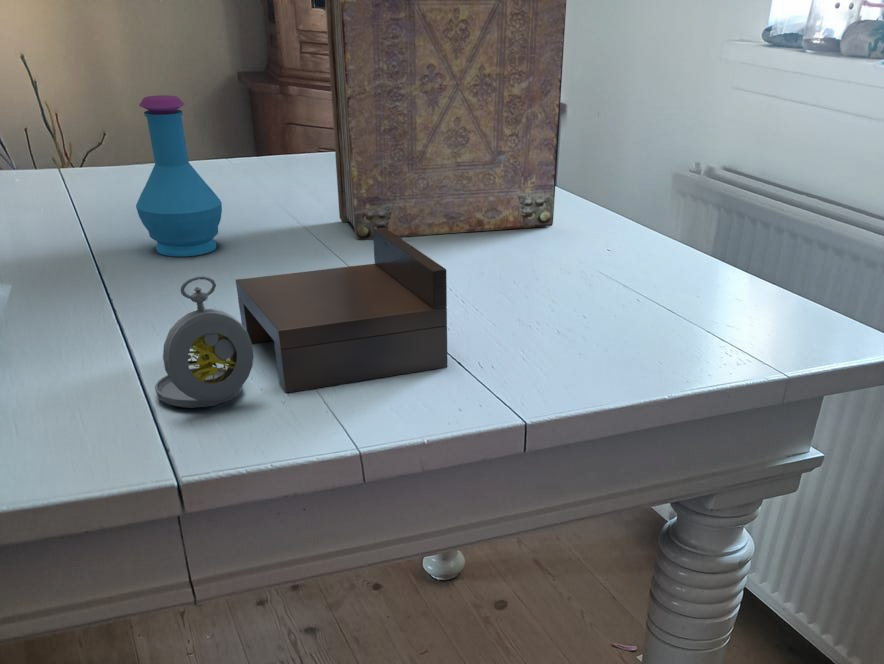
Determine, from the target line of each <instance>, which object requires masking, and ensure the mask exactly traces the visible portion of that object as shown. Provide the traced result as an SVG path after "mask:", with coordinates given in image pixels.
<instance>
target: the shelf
mask: <svg viewBox="0 0 884 664" xmlns="http://www.w3.org/2000/svg"><path fill="white" fill-rule="evenodd" d="M372 241H373V257H374V258H373V259H374V263H369V264H359V265H351V266H342V267H341V266H340V267H334V268H325V269H317V270H308V271H307V270H306V271H299V272H291V273H282V274H273V275H265V276H256V277H255V276H254V277H247V278H239V279H235V287H236V294H237V300H238V301H237V302H238V307H239V314H240V315H239V316H240V321H241V322H240V323H241V324H242V325H243V327H244V328H245V330H246V331H247V333H248V335H249V337H250V340H251V343H252V344H256V343H262V342H272V341H273V342H274V351H275V360H276V368H277V377H278V383H279V384H278V385H280V387H281V388H282V390H283V391H284V392H285V393H286V394H288V393H294V392H300V391H306V390H312V389H317V388H318V389H319V388H320V389H321V388H325V387H332V386H337V385H344V384H351V383H357V382H362V381H369V380H375V379H381V378H386V377H387V378H388V377H394V376H400V375H405V374H412V373H418V372H424V371H429V370H436V369H442V368H443V369H444V368H448V308H447V307H448V305H447V304H448V296H447V295H448V291H447V289H448V283H447V277H448V276H447V268H445V267H444V266H443V265H441V264H439V263H438V262H437V261H435V260H433V259H432V258H430V256H427V255H426V254H424V253H423V252H422V251H420V250H419V249H417V248H416V247H414V246H413V245H411V243H408V242H407V241H405V240H403V239H402V237H398V236H396V235H395V234H393V233H392V232H390V231H389V230H387V229H386V228H376V229H373V239H372Z"/></svg>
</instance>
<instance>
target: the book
mask: <svg viewBox="0 0 884 664" xmlns="http://www.w3.org/2000/svg"><path fill="white" fill-rule="evenodd" d="M324 5H325V17H326V18H325V19H326V20H325V21H326V34H327V49H328V50H327V51H328V63H329V64H328V65H329V78H330V79H329V81H330V93H331V94H330V95H331V111H332V122H333V123H332V125H333V139H334V155H335V172H336V184H337V197H338V198H337V200H338V213H339V219H340V221H341V222H342V223H348V222H349V223H350V224H351V225H352V226H353V229H354V237H355V238H356V239H357V240H360V241H361V240H362V241H363V240H373V229H376V228H386V229H387V230H389V231H390V232H392V233H393V234H395V235H396V236H398V237H399V238H402V237H414V236H415V237H416V236H430V235H443V234H456V233H457V234H459V233H471V232H483V231H485V232H487V231H497V230H512V229H513V230H514V229H527V228H539V227H552V226H553V224H554V214H555V199H556V198H555V197H556V181H557V167H558V166H557V165H558V163H557V162H558V149H559V134H560V133H559V132H560V116H561V115H560V114H561V112H560V111H561V97H562V96H561V95H562V83H563V82H562V81H563V64H564V51H565V50H564V49H565V48H564V46H565V33H566V32H565V31H566V18H567V17H566V14H567V0H324Z"/></svg>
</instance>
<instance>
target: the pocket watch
mask: <svg viewBox="0 0 884 664" xmlns="http://www.w3.org/2000/svg"><path fill="white" fill-rule="evenodd" d="M198 280H204V281H208V282H209V283H210V284H211V285H212V286H211V288H210V289H209V290H208V291H206V292H205V291H203V290H202V288H201V287H200V286H196V287H195V288H193V291H194V292H193V293H192V294H190V295H189V294H187V292H186V290H185V289H186V287H187V286H188V284H190V283H193V282H195V281H198ZM216 287H217V282H216V280H214V278H212V277H210V276H206V275H200V276H199V275H198V276H195V277H191V278H189V279H187V280H186V281H184V282H183V283H182V284H181V286H180V294H181V295H182V296H183V297H184V298H186V299H190V301H192V302H193V303H195V304H196V310H193V311H189V312H187V313H186V314H185V315H183V316H182V317H180V318H179V319H178V320H177V321H176V322H175V323H174V324H173V326H172V327H171V328H170V329H169V331H168V333H167V335H166V338H165V341H164V343H163V351H162V352H163V353H162V360H163V367H164V369H165V372H166V375H164V376H162V377H161V378H160V379H158V380H157V382H156V383H155V385H154V389H155V394H156V396H157V398H158V400H160V401H162V402H163V403H165V404H167V405H168V406H169V405H170V406H174V407H179V408H191V409H192V408H193V409H194V408H207V407H213V406H217V405H221V404H223V403H226V402H229V401H232V400H233V399H234V398H237V397H238V396H239V395H240V394H241V393H242V391H243V389H244V385H245V383H246V382H247V380H248V378H249V376H250V374H251V371H252V369H253V364H254V347H253V343H251V340H250V337H249V335H248V333H247V331H246V330H245V328H244V327H243V325H242V322H240V321H239V320H238V319H237V318H236V317H234V316H233V315H231V314H229V313H228V312H226V311H223V310H220V309H215V308H206V307H205V304H204V303H205V302H206V301H208V299H209V296H210V295H212V294H213V293H214V292H215V290H216V289H217V288H216ZM191 354H192V355H191ZM193 358H194V359H195V360H193ZM217 364H218V365H222V366H223V367H218V365H217ZM190 366H193V367H191V368H190ZM226 367H227V368H226Z"/></svg>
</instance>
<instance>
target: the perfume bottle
mask: <svg viewBox="0 0 884 664" xmlns="http://www.w3.org/2000/svg"><path fill="white" fill-rule="evenodd" d="M185 104H186V103H184V102H183V101H182V100H181V98H179V97H178V96H176V95H166V94H163V95H162V94H161V95H160V94H159V95H149V96H148V95H147V96H144V97H143V98H142V100H141V101H140V102H139V104H138V106H139V107H140V108H143V109H145V111H144V112H143V114H144V117H146V121H147V126H148V132H149V139H150V143H151V149H152V154H153V159H154V166H153V168H152V170H151V172H150V174H149V175H148V179H147V181H146V183H145V185H144V187H143V189H142V191H141V192H140V195H139V197H138V200H137V202H136V205H135V209H136V211H137V215H138V217H139V219H140V221H141V224H142V225H143V226H144V227H145V229H146V230H147V232H148V235H149V238H151V239H152V240H153V241H155V242H157V243H156V246H155V249H156V252H157V253H158V254H160V255H163V256H169V257H194V256H201V255H205V254H209V253H211V252H213V251H215V250H216V249H217V244H216V243H217V242H215V241H216V240H214V238H215V237H216V236H217V235H218V234H219V225H220V223H221V220H222V214H223V213H222V212H223V207H222V205H223V204H222V201H221V199H220V198H219V197H218V195H217V193H215V192H214V190H213V189H212V188H211V187H210V186H209V184H208V183H206V181H205V180H204V178H202V177H201V175H200V174H199V173H198V172H197V171H196V169H195V168H194V167H193V166H192V164H191V163H190V162H189V155H188V148H187V143H186V137H185V136H186V135H185V131H184V124H183V118H182V116H183V114H184V113H183V110H180V109H181V108H182V107H184V106H185Z"/></svg>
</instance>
